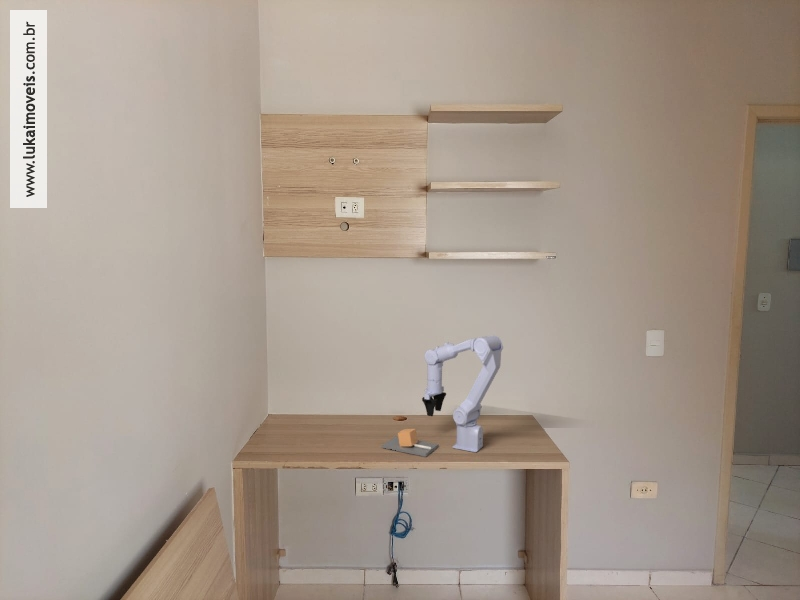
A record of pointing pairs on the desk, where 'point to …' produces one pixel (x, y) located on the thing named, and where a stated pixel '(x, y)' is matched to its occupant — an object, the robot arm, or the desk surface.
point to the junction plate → (411, 447)
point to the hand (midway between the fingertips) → (434, 413)
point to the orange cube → (407, 437)
